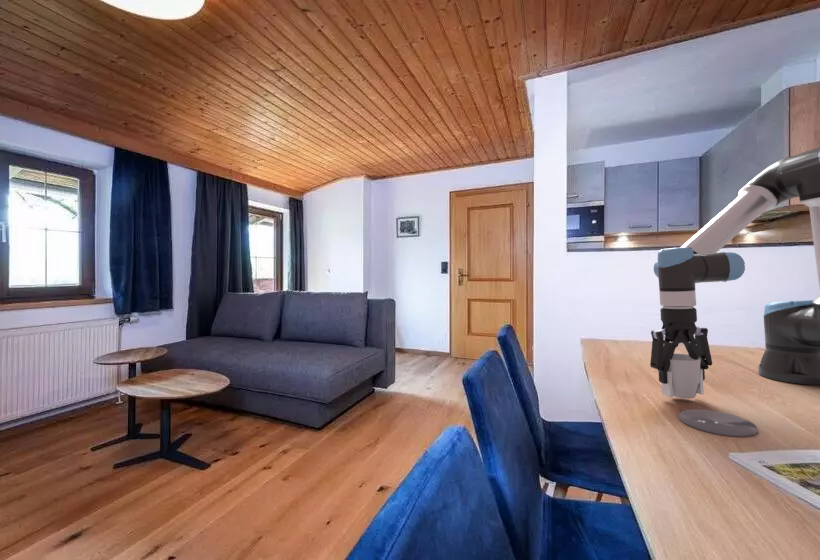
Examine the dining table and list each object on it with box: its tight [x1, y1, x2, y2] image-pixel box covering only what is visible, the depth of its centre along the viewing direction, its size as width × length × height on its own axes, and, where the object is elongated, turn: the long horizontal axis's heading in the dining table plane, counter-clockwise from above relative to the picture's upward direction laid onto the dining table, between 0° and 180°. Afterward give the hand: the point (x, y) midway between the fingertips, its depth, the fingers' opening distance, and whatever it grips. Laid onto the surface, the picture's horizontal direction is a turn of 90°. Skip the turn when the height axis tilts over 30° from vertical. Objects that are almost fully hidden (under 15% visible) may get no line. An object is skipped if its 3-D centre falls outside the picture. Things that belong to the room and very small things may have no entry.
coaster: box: [678, 409, 758, 438], centre depth 78 cm, size 13×13×1 cm
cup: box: [663, 353, 701, 399], centre depth 92 cm, size 8×8×10 cm
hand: (682, 394), depth 92 cm, fingers closed on cup, 8 cm apart
